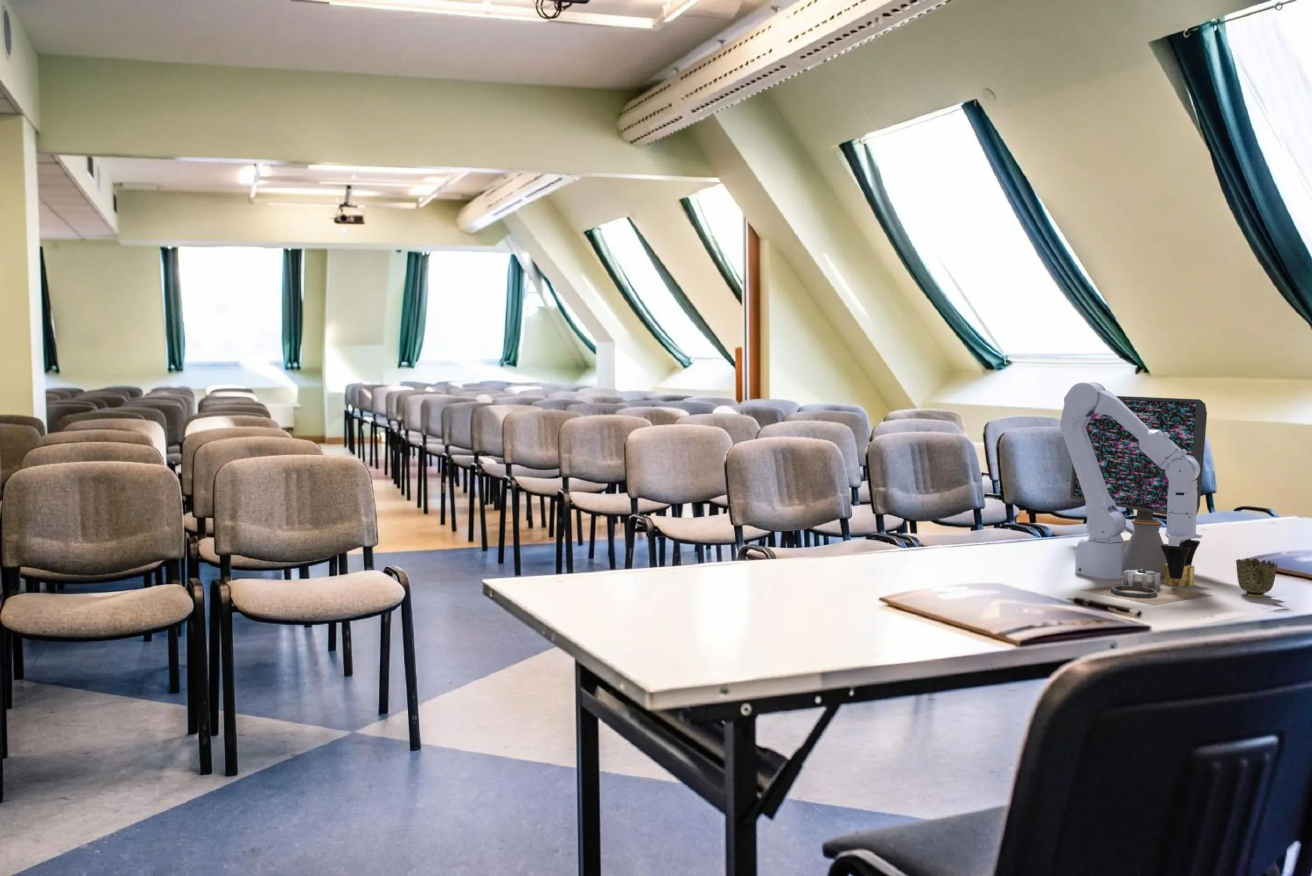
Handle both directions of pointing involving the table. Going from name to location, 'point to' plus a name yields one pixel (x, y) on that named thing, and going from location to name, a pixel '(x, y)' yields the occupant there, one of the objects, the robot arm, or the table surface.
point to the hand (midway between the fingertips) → (1179, 575)
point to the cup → (1256, 576)
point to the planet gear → (1184, 581)
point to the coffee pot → (1144, 548)
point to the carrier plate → (1162, 597)
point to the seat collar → (1150, 593)
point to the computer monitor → (1129, 467)
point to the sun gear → (1141, 578)
